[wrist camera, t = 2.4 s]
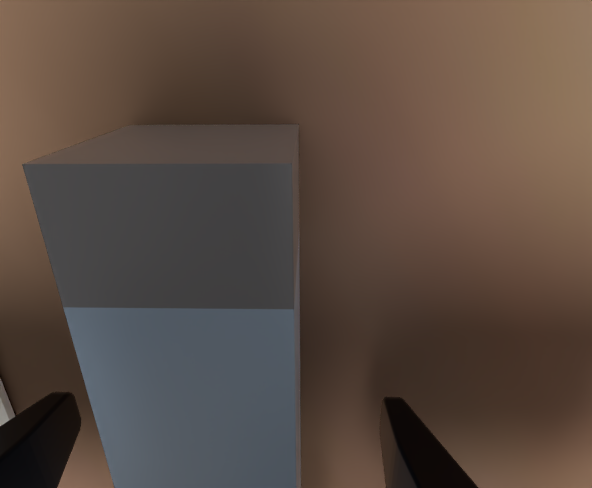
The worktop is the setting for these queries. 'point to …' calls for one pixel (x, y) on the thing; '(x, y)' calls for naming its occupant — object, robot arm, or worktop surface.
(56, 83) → the worktop surface
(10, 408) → the paper sheet
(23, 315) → the worktop surface
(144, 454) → the rectangular block
